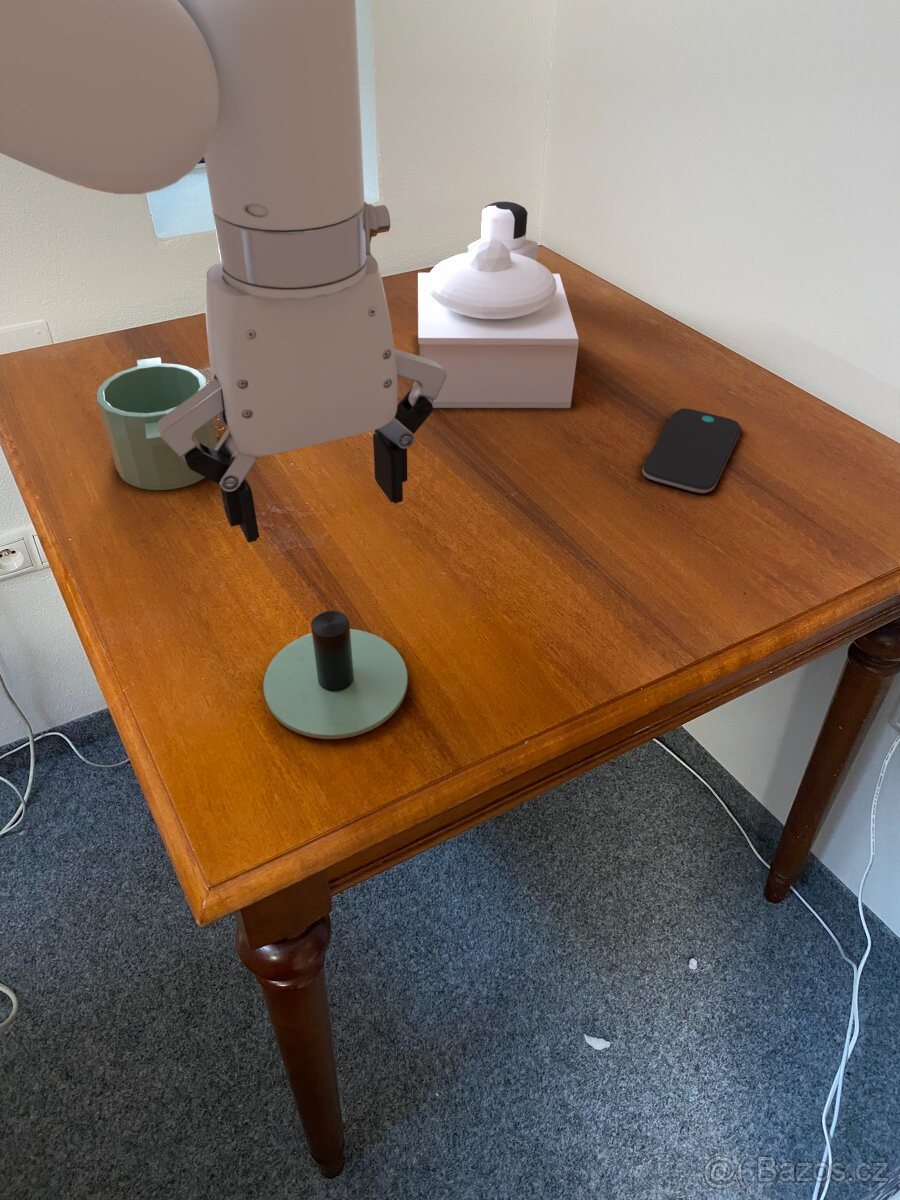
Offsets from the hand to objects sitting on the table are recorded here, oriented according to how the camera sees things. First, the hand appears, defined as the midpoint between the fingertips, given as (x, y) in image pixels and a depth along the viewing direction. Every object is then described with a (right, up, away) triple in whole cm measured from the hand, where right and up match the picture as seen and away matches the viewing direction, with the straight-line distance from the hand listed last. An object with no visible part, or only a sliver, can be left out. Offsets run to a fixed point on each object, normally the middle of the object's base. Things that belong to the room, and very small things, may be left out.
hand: (320, 509), depth 57 cm
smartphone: (+35, +10, +38) cm, 53 cm away
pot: (-21, +9, +35) cm, 42 cm away
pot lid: (-1, -12, +12) cm, 17 cm away
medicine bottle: (+16, +37, +68) cm, 79 cm away
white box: (+13, +22, +51) cm, 57 cm away
